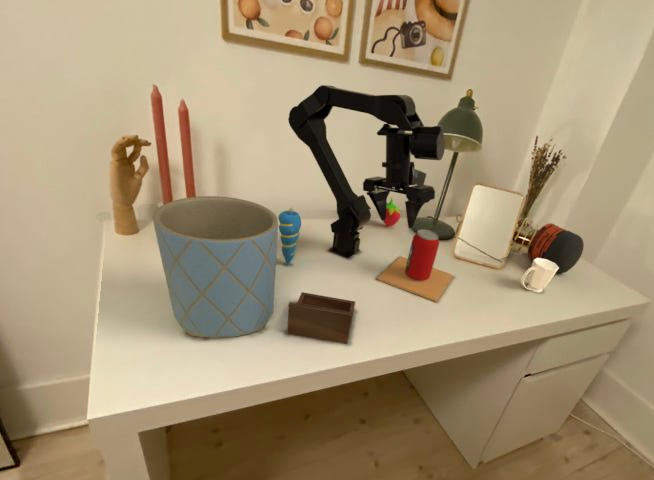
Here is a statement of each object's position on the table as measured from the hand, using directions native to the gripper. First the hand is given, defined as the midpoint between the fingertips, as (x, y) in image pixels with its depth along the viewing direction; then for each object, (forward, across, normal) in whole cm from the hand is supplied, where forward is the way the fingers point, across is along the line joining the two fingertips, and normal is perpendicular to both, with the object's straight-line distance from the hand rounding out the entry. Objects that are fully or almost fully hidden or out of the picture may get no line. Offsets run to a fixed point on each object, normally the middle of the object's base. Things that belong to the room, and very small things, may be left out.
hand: (396, 224), depth 94 cm
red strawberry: (+5, +21, -21) cm, 30 cm away
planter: (+10, +4, +45) cm, 46 cm away
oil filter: (+20, -22, -49) cm, 57 cm away
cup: (+20, -26, -29) cm, 43 cm away
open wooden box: (+12, -8, +30) cm, 34 cm away
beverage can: (+14, -5, -2) cm, 15 cm away
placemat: (+14, -5, -2) cm, 15 cm away
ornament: (+9, +16, +23) cm, 29 cm away
